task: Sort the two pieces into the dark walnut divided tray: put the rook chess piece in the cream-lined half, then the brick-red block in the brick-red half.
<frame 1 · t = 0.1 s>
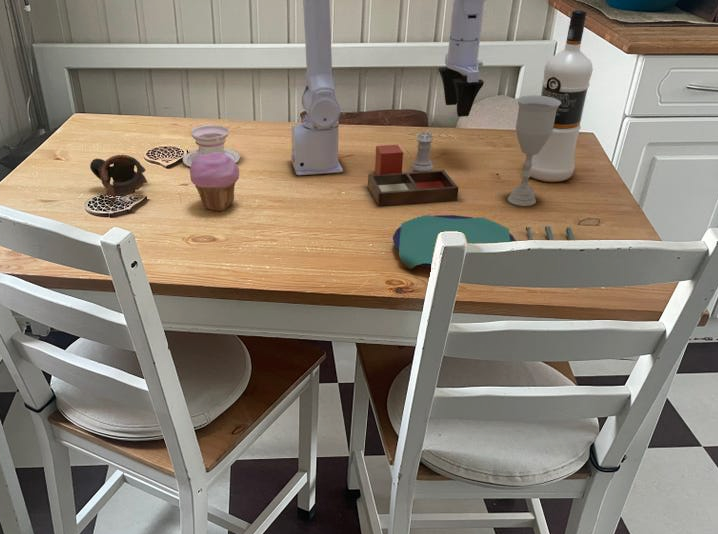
hand: (456, 110, 146), 10 cm above the table, tool pointing down, fingers open, 7 cm apart
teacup: (211, 161, 153), on the table
rook chess piece: (421, 174, 146), on the table
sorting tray: (411, 193, 138), on the table
chalice: (521, 201, 135), on the table
pottery mug: (121, 193, 140), on the table
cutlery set: (484, 254, 118), on the table
brick-red block: (387, 175, 145), on the table
vodka: (548, 175, 145), on the table
cupcake: (217, 207, 134), on the table
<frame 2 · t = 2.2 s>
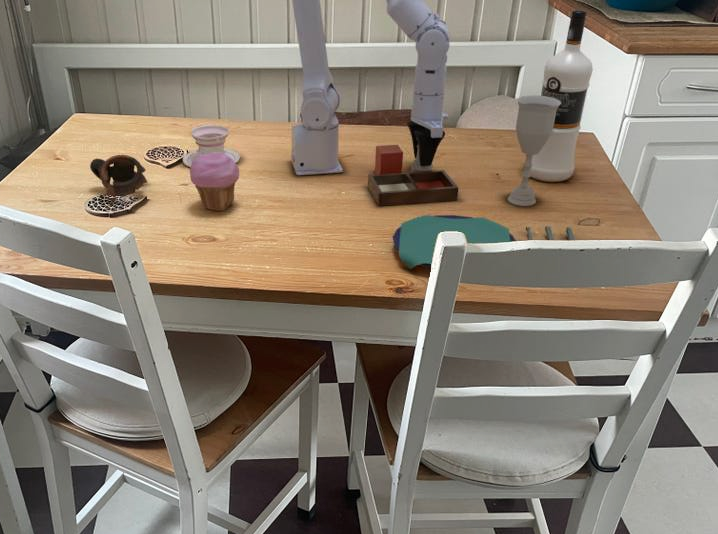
hand: (422, 162, 144), 2 cm above the table, tool pointing down, fingers closed on rook chess piece, 3 cm apart
rook chess piece: (421, 174, 146), on the table, touching gripper
everything else where it was.
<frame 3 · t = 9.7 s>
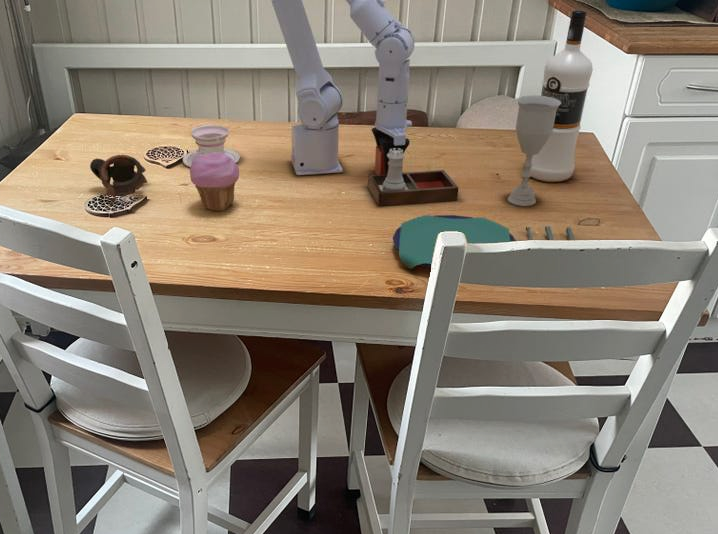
hand: (388, 169, 144), 1 cm above the table, tool pointing down, fingers closed on brick-red block, 4 cm apart
rook chess piece: (393, 192, 137), resting on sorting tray
brick-red block: (387, 175, 145), on the table, touching gripper
everything else where it was.
when the fingers open (2 cm above the table, at t = 14.6 s): brick-red block stays where it is, resting on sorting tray.
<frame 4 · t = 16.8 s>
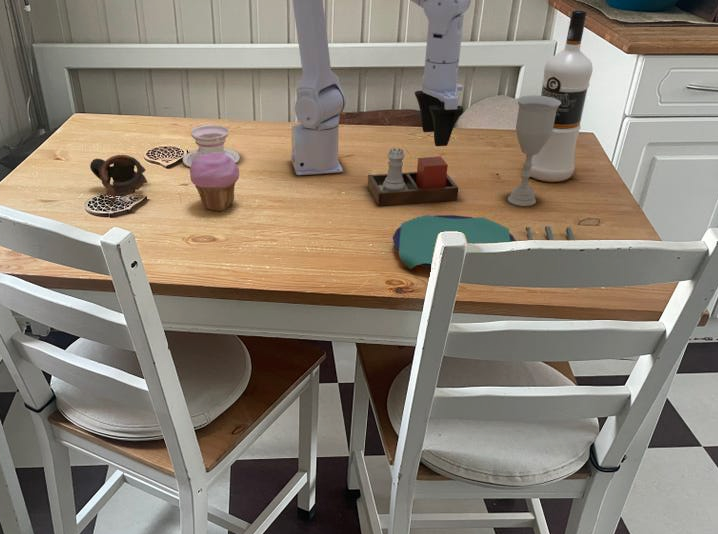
hand: (434, 138, 132), 10 cm above the table, tool pointing down, fingers open, 7 cm apart
brick-red block: (430, 189, 138), point 1 cm above the table, touching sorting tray
everything else where it was.
at the end: rook chess piece inside the target area on the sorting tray (0.0 cm from its centre), point 0.4 cm above the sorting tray's base; brick-red block inside the target area on the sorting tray (0.1 cm from its centre), point 0.6 cm above the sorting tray's base; rook chess piece tilted 0° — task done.
